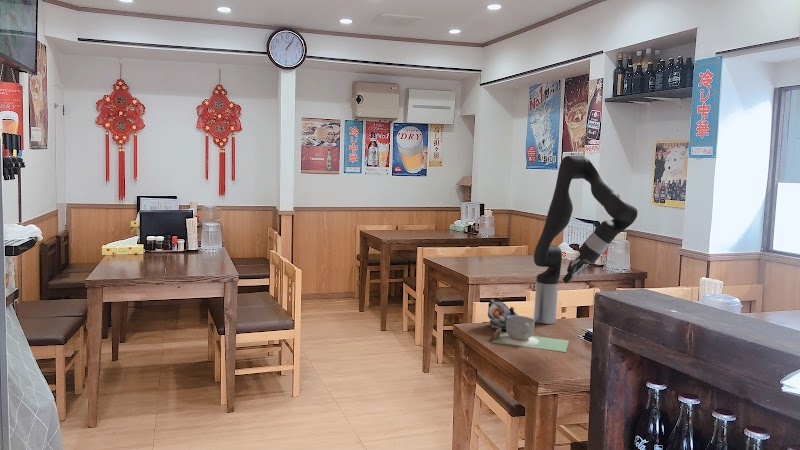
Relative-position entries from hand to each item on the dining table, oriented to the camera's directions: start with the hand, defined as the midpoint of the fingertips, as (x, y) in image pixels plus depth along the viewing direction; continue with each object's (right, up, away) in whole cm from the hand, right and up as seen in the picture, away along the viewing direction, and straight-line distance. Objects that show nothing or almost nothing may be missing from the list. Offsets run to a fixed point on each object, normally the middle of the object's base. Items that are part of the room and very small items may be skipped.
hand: (564, 281), depth 234 cm
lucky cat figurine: (-20, -21, +20) cm, 35 cm away
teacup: (-16, -23, +4) cm, 28 cm away
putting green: (-12, -23, +2) cm, 26 cm away
